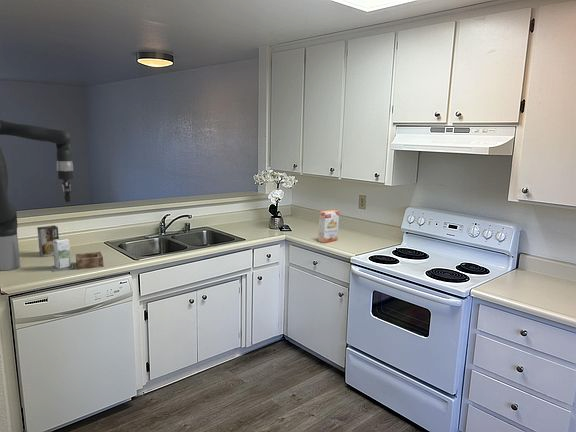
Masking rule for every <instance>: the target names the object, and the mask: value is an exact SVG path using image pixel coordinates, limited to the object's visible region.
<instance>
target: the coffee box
mask: <svg viewBox="0 0 576 432" xmlns="http://www.w3.org/2000/svg"><path fill="white" fill-rule="evenodd" d="M36 229H37V239H38V249H39V256H41V257H42V258H47V257H52V256H53V257H54V247H53V240H55V239H60V238H59V235H60V234H59V227H58V226H57V225H55V224H54V225H47V226H39V227H36Z"/></svg>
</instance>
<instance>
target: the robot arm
mask: <svg viewBox="0 0 576 432" xmlns="http://www.w3.org/2000/svg"><path fill="white" fill-rule="evenodd" d="M0 135H1V136H2V135H4V136H13V137H18V138H22V139H26V140H32V141H39V142H49V143H52V144H55V148H56V173H57V179H58V180H62V182H61V186H62V191H63V196H64V197H63V198H64V201H65V203H70V202H71V196H70V195H71V186H72V184H71V182H70V180H73V179H74V178H75V176H74V175H75V172H74V164H73V154H72V148H71V147H72V146H71V145H72V144H71V143H72V142H71V141H72V136H71V134H70V132H68V131H66V130H63V129H53V128H47V127H44V126H39V125H33V124H24V123H15V122H10V121H5V120H2V119H0ZM7 167H8V165H7V163H6V159H5V155H4V153H3V151H2V148H1V147H0V271H13V270H17V269H19V268H20V267H21V261H20V249H19V239H18V215H17V209H16V207H15V205H13V203H10V200H9V194H8V186H9V173H8V168H7Z"/></svg>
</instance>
